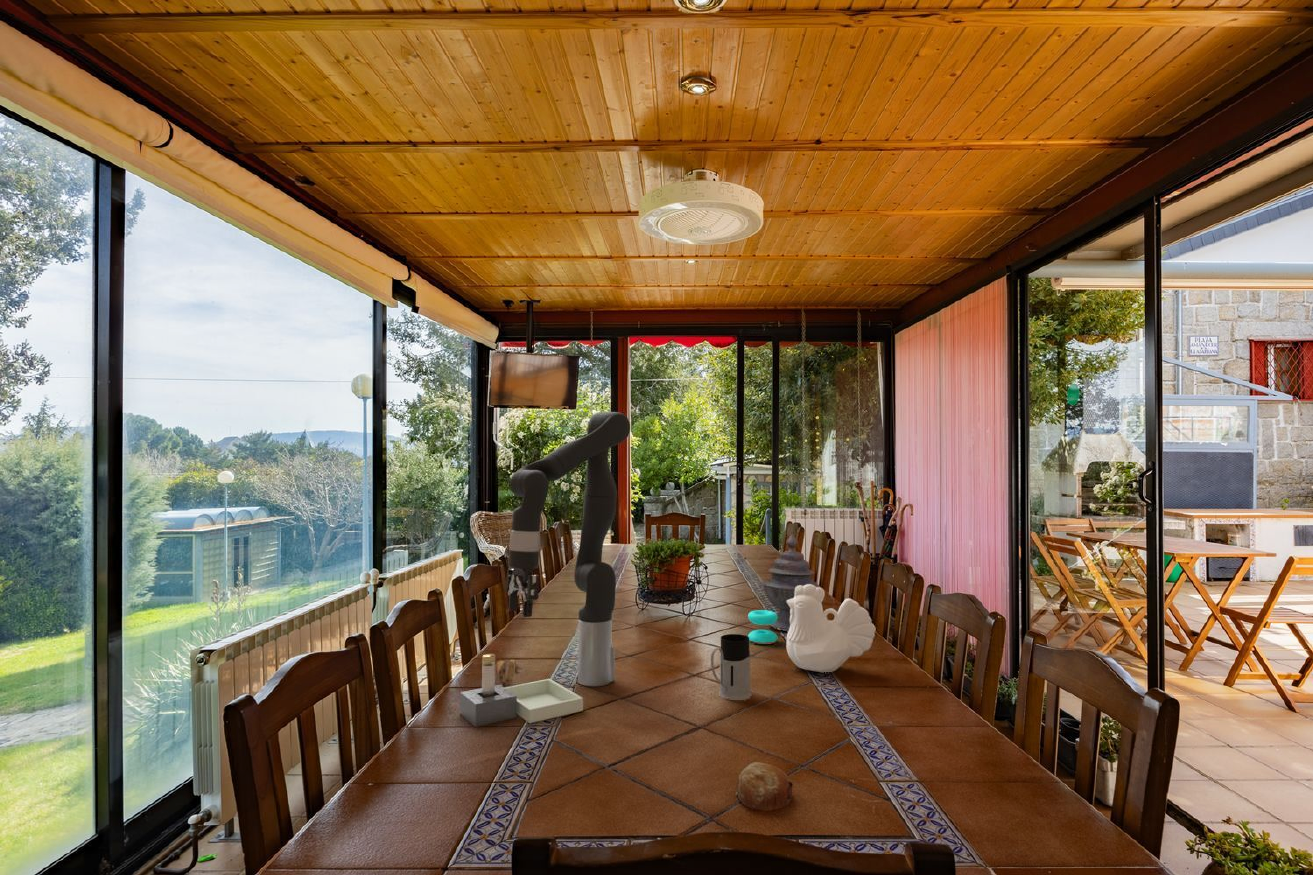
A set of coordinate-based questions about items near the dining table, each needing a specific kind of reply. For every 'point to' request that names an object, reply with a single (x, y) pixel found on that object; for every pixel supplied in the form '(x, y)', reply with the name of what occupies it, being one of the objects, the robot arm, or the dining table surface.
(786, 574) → the decorative urn
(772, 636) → the donuts
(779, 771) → the bread roll
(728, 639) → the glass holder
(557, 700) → the tray
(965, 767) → the dining table surface
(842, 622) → the decorative rooster
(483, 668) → the steel pin
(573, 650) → the dining table surface
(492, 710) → the block
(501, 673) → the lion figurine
